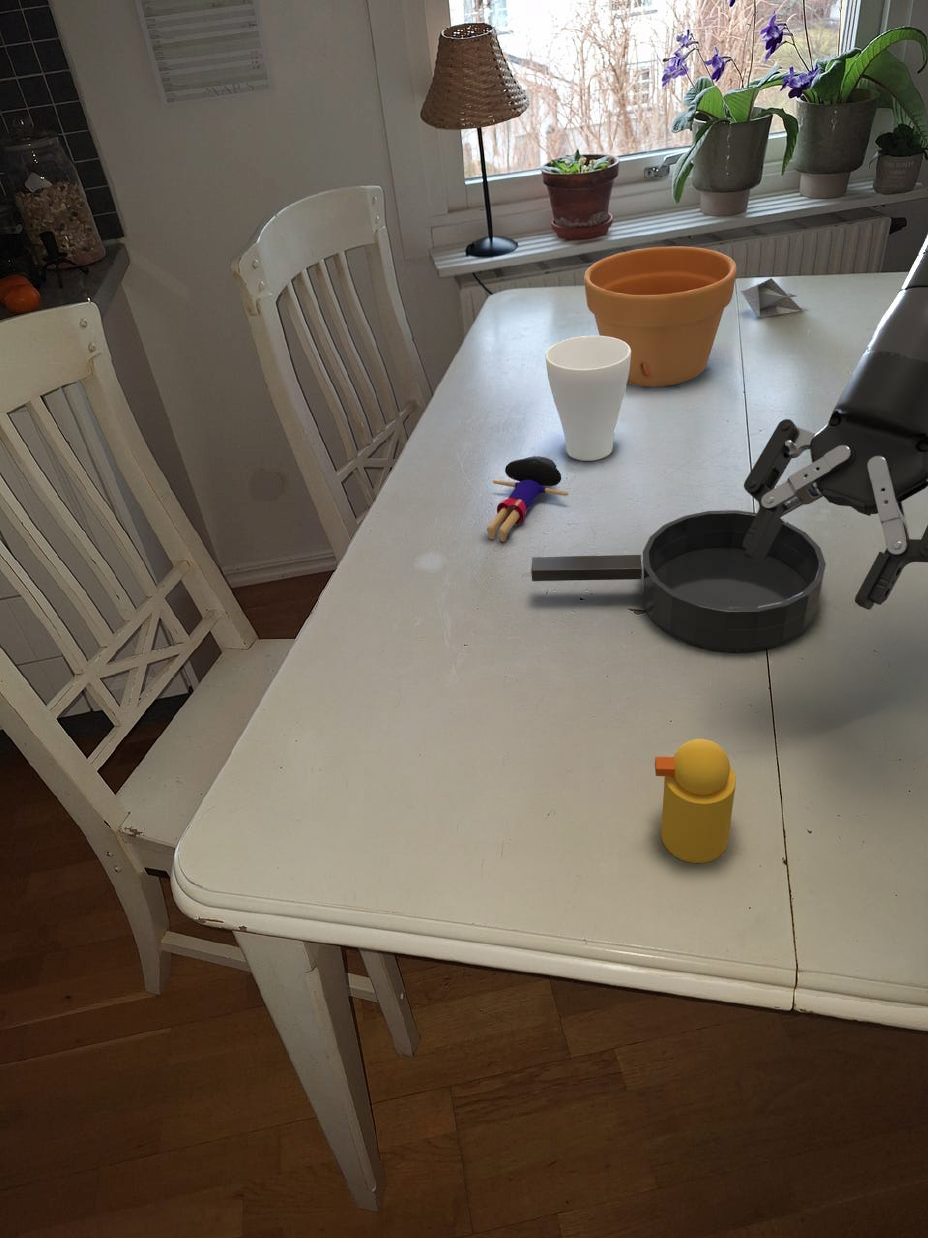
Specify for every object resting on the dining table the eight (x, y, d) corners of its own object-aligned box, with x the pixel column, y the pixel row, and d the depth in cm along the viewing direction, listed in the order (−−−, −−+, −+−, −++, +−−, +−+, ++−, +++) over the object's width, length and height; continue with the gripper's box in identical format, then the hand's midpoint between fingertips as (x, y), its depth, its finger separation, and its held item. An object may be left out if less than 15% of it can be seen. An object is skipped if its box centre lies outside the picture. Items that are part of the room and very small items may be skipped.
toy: (536, 553, 101) (584, 483, 110) (534, 520, 98) (583, 451, 107) (458, 537, 105) (511, 471, 115) (453, 505, 102) (508, 440, 112)
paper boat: (777, 290, 151) (824, 287, 143) (767, 328, 152) (813, 327, 144) (732, 266, 144) (779, 262, 136) (721, 307, 145) (767, 304, 137)
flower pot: (571, 394, 131) (568, 293, 121) (601, 338, 146) (601, 245, 136) (719, 401, 124) (728, 295, 115) (734, 342, 139) (743, 244, 130)
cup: (536, 443, 120) (531, 347, 112) (606, 424, 122) (605, 328, 114) (571, 477, 112) (567, 377, 104) (644, 456, 114) (647, 356, 106)
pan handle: (640, 565, 91) (640, 554, 90) (641, 579, 89) (641, 568, 88) (533, 567, 92) (532, 556, 91) (531, 581, 91) (531, 570, 90)
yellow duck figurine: (723, 811, 70) (735, 722, 64) (731, 864, 66) (744, 775, 60) (650, 809, 71) (654, 722, 65) (653, 862, 67) (658, 774, 61)
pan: (800, 547, 96) (806, 507, 93) (833, 652, 83) (842, 610, 80) (638, 550, 98) (639, 512, 95) (646, 653, 85) (647, 612, 82)
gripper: (806, 327, 63) (700, 534, 64) (1020, 374, 54) (892, 611, 56) (832, 371, 69) (735, 559, 70) (1029, 420, 60) (913, 633, 62)
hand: (804, 582), depth 63 cm, fingers open, 8 cm apart
